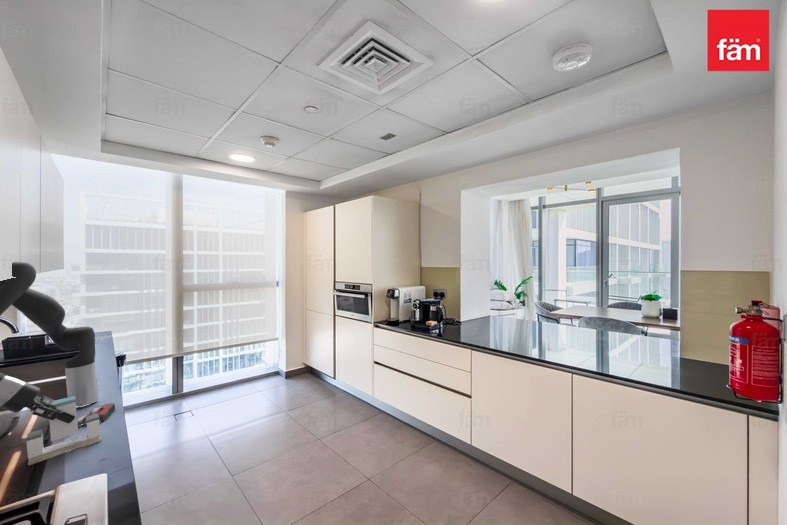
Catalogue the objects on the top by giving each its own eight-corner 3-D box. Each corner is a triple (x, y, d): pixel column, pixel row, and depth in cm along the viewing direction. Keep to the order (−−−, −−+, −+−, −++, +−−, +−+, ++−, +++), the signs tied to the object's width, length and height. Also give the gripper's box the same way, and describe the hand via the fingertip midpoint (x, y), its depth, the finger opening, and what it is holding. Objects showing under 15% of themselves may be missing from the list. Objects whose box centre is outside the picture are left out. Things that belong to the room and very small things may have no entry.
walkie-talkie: (89, 414, 129) (63, 438, 110) (88, 403, 129) (62, 425, 110) (117, 408, 132) (96, 431, 114) (116, 398, 132) (95, 418, 114)
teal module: (51, 436, 102) (48, 402, 102) (77, 428, 106) (75, 395, 106) (50, 441, 99) (48, 406, 99) (78, 433, 103) (75, 399, 103)
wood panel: (30, 456, 100) (29, 454, 100) (99, 433, 111) (99, 431, 111) (28, 465, 95) (27, 463, 95) (101, 440, 106) (101, 438, 106)
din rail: (30, 454, 99) (30, 452, 99) (98, 432, 110) (98, 430, 110) (29, 461, 96) (28, 458, 96) (100, 437, 107) (99, 435, 107)
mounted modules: (29, 453, 99) (27, 433, 99) (99, 430, 110) (98, 413, 110) (28, 458, 96) (26, 438, 96) (100, 434, 107) (99, 416, 107)
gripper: (22, 387, 92) (84, 412, 101) (26, 377, 102) (82, 401, 111) (-6, 412, 89) (61, 437, 97) (1, 399, 99) (61, 422, 107)
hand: (72, 417), depth 104 cm, fingers closed on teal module, 4 cm apart
